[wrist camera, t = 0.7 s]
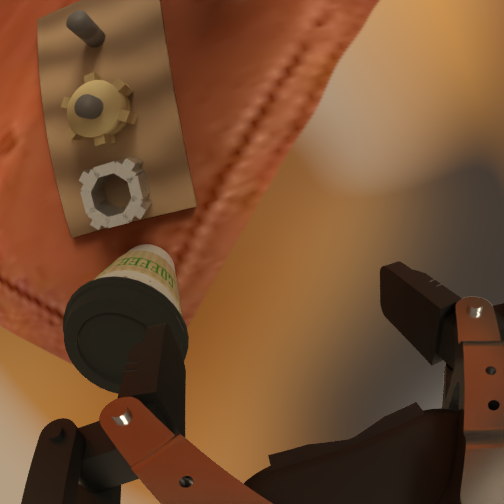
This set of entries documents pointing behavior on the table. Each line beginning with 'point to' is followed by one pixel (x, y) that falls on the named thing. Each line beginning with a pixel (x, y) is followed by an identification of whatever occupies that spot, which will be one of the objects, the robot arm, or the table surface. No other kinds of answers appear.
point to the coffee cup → (122, 314)
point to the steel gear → (96, 196)
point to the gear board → (147, 101)
